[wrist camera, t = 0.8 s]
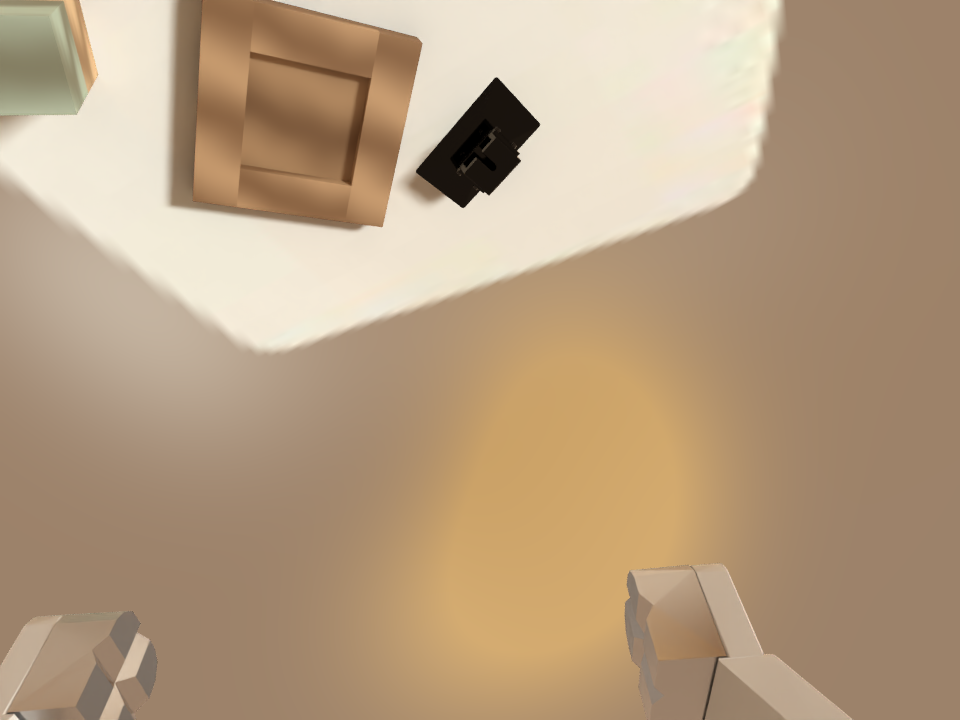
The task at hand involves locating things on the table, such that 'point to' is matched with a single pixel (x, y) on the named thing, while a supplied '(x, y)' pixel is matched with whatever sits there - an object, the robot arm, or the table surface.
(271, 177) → the walnut plate
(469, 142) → the black stand
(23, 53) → the block stack
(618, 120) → the table surface
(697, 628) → the robot arm
